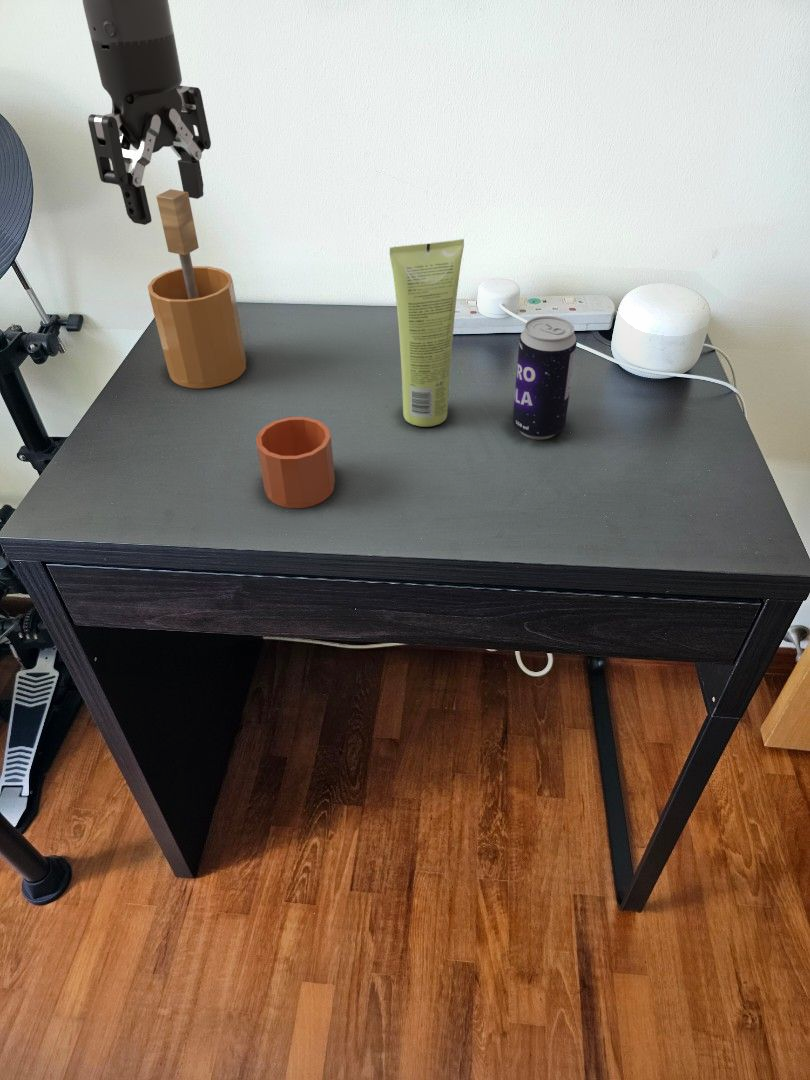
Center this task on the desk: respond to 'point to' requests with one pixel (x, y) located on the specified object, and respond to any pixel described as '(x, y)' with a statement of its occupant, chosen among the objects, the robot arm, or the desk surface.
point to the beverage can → (544, 376)
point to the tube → (426, 325)
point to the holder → (296, 462)
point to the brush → (180, 232)
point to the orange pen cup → (199, 327)
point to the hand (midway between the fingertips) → (168, 209)
